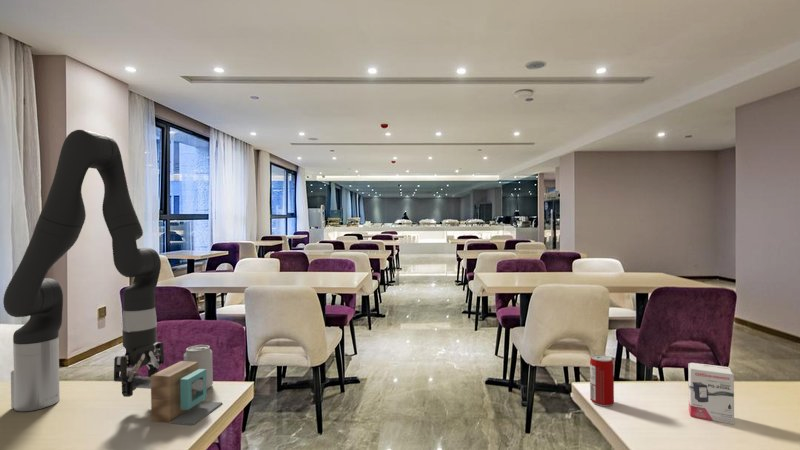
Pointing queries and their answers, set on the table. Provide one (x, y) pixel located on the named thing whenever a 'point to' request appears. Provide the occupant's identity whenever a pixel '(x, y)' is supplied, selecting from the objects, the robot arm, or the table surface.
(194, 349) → the can
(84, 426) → the table surface
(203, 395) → the spacer
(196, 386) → the shaft
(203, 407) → the mat
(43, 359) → the robot arm
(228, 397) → the table surface
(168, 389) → the bearing block
